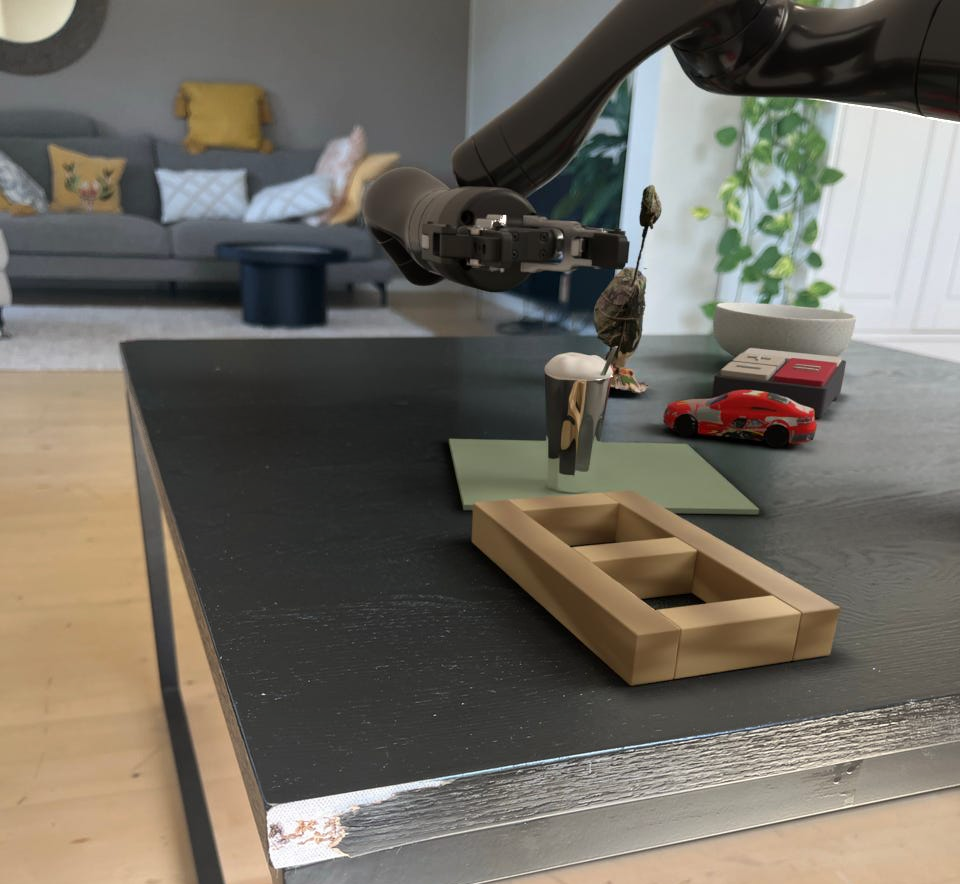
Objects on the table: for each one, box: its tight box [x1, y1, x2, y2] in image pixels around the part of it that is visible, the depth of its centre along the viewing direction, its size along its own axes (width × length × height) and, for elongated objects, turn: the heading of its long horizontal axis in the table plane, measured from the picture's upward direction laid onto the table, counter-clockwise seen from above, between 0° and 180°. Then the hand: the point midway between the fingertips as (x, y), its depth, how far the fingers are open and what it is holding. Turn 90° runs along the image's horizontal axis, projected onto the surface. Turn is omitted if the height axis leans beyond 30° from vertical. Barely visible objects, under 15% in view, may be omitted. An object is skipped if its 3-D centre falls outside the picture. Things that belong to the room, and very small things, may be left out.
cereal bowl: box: [712, 302, 857, 358], centre depth 121 cm, size 17×17×7 cm
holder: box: [471, 490, 841, 687], centre depth 52 cm, size 11×19×2 cm, turn 21°
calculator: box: [711, 348, 847, 419], centre depth 103 cm, size 11×4×15 cm
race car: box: [662, 390, 818, 449], centre depth 87 cm, size 13×5×4 cm, turn 68°
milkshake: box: [544, 347, 617, 493], centre depth 67 cm, size 4×5×10 cm
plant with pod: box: [592, 184, 663, 394], centre depth 102 cm, size 8×11×20 cm
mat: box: [448, 438, 760, 516], centre depth 74 cm, size 20×18×1 cm
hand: (566, 252), depth 66 cm, fingers open, 8 cm apart
